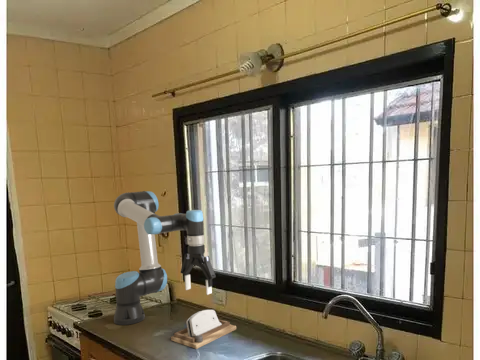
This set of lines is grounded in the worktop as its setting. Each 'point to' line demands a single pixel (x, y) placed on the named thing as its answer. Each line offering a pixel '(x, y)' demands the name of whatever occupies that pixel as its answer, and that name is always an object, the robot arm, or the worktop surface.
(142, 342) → the worktop surface
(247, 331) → the worktop surface
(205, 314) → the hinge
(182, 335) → the wooden tray
